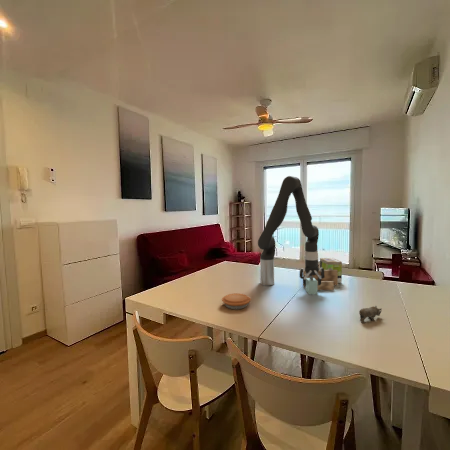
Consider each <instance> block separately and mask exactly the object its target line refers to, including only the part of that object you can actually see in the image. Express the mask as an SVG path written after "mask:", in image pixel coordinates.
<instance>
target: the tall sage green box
mask: <svg viewBox="0 0 450 450" xmlns="http://www.w3.org/2000/svg"><path fill="white" fill-rule="evenodd" d="M305 291H306V293H307V294H308V295H318V290H317V280H316V279H315V278H313V276H312V275H311V276H310V278H306V286H305Z"/></svg>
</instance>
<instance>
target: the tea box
mask: <svg viewBox="0 0 450 450" xmlns="http://www.w3.org/2000/svg"><path fill="white" fill-rule="evenodd" d="M321 267H322V268H324V270H338V284H342V281H343V269H342V268H343V261H341V260H339V259H336V258H334V257H320V258H319V268H321Z"/></svg>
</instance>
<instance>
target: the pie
mask: <svg viewBox="0 0 450 450" xmlns="http://www.w3.org/2000/svg"><path fill="white" fill-rule="evenodd" d="M251 300H252V299H251V297H250V296H248V295H246V294H244V293H238V292H237V293H229V294H227V295H225V296H222V298H221V301H222V303H223V304H224V306H225V307H226V308H227V309H229V310H242V309H245V308H247V306H248V305H249V303H250V302H251Z"/></svg>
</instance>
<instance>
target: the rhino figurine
mask: <svg viewBox="0 0 450 450" xmlns="http://www.w3.org/2000/svg"><path fill="white" fill-rule="evenodd" d="M382 309H383V308H378V306H377V305H375V306H370V307H365V308H361V309H359V316H360V317H359V318H360V319H359V320H360V321H361V324H366V321H365V320H366V319H369V320H371V321H372V322H375V321H376V320H375V317H377V316H378V317H380V316H381V313H382Z"/></svg>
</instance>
